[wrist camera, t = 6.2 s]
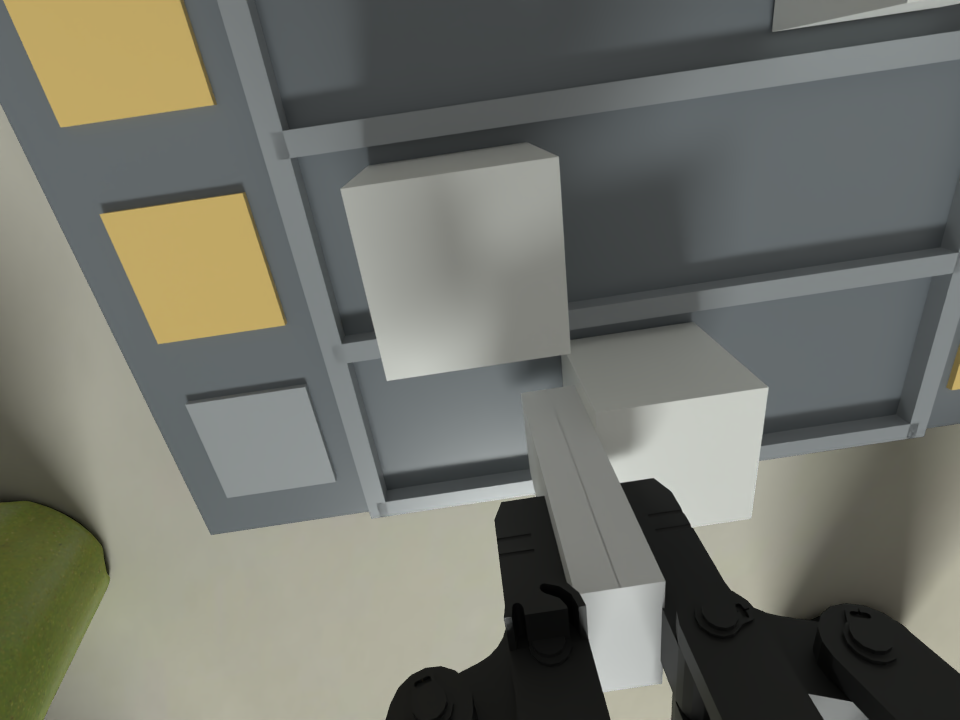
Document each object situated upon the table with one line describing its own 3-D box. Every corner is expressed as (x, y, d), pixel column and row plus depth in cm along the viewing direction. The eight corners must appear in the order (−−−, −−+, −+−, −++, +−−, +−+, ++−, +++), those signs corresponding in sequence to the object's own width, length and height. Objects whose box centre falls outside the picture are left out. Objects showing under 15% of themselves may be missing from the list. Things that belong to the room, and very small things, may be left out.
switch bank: (227, 504, 19) (203, 548, 17) (-61, -128, 11) (-160, -174, 9) (1027, 385, 19) (1090, 416, 18) (1304, -329, 11) (1475, -414, 10)
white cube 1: (567, 450, 17) (600, 540, 14) (560, 341, 16) (595, 412, 12) (687, 432, 17) (751, 518, 14) (693, 321, 16) (768, 387, 12)
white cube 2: (399, 313, 15) (386, 380, 11) (367, 165, 13) (340, 188, 9) (539, 293, 15) (571, 353, 11) (526, 142, 13) (558, 156, 9)
